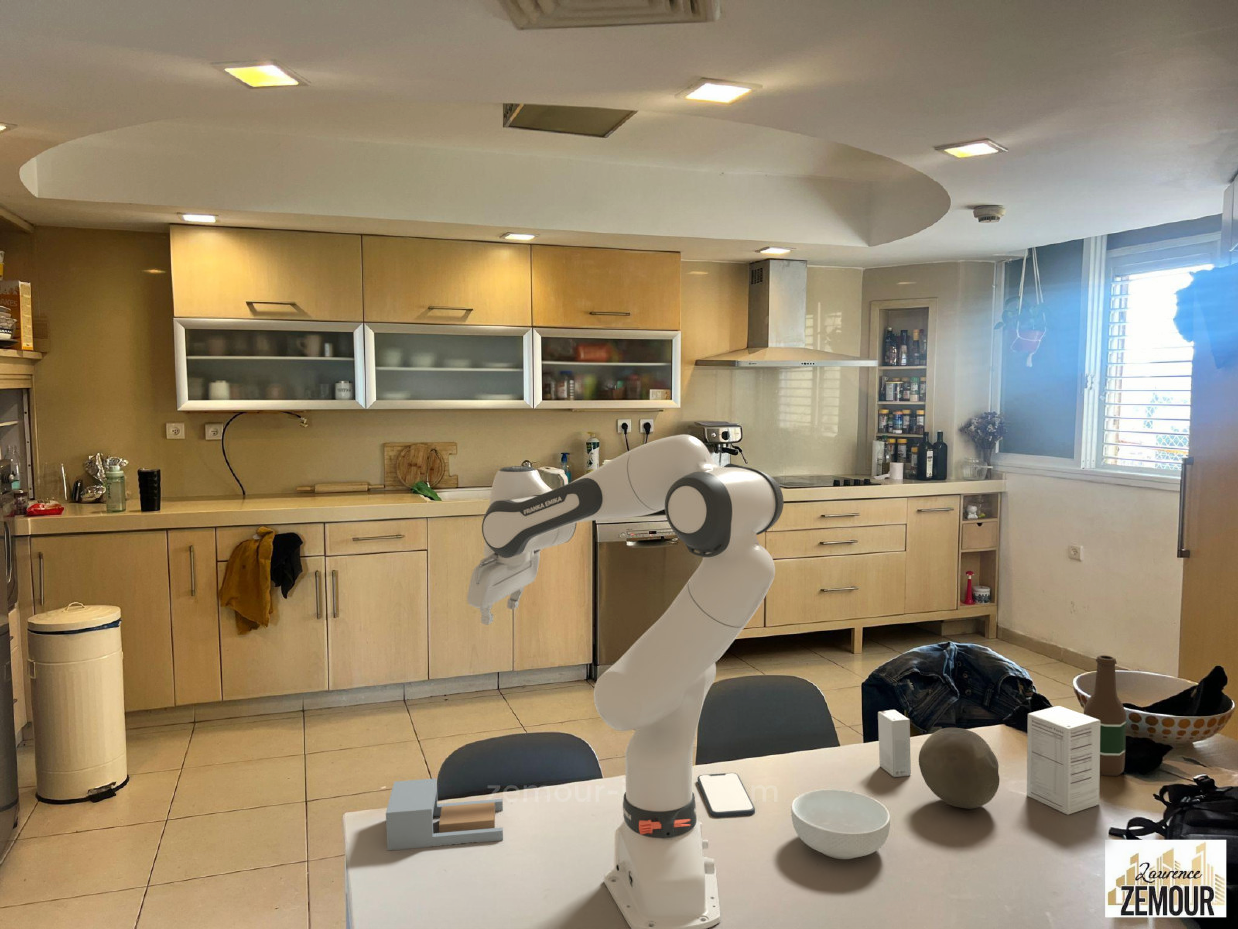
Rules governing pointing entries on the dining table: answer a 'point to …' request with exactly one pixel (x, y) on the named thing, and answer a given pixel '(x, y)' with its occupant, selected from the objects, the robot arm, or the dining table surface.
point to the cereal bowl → (840, 822)
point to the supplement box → (1063, 759)
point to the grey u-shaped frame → (427, 818)
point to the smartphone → (725, 795)
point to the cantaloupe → (959, 767)
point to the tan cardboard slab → (467, 817)
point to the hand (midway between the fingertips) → (499, 615)
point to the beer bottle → (1108, 717)
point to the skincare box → (894, 743)
